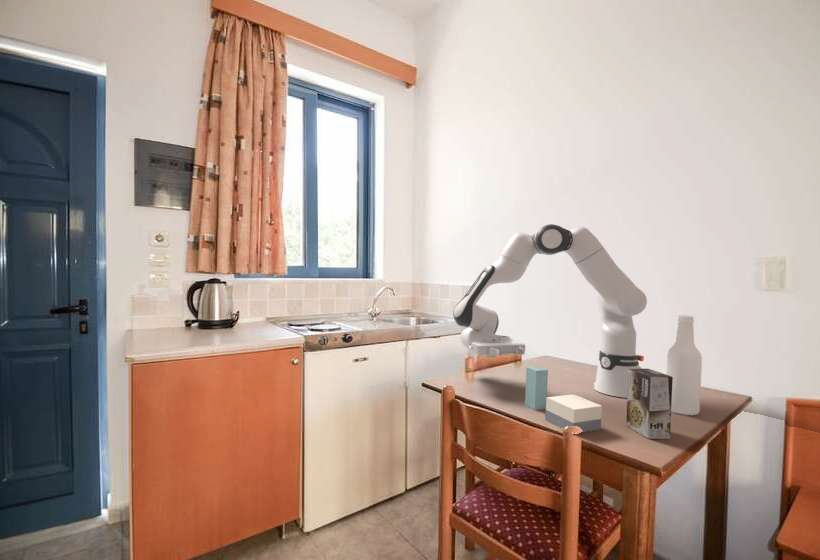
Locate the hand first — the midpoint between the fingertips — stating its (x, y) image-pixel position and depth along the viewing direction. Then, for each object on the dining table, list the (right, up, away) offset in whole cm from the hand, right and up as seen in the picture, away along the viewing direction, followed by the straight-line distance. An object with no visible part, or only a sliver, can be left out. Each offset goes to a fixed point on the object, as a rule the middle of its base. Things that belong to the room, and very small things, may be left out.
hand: (511, 352), depth 130 cm
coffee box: (+29, -16, -28) cm, 43 cm away
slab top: (+10, -12, -25) cm, 30 cm away
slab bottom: (+10, -16, -25) cm, 31 cm away
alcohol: (+51, -17, -10) cm, 54 cm away
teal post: (+4, -15, -11) cm, 19 cm away
